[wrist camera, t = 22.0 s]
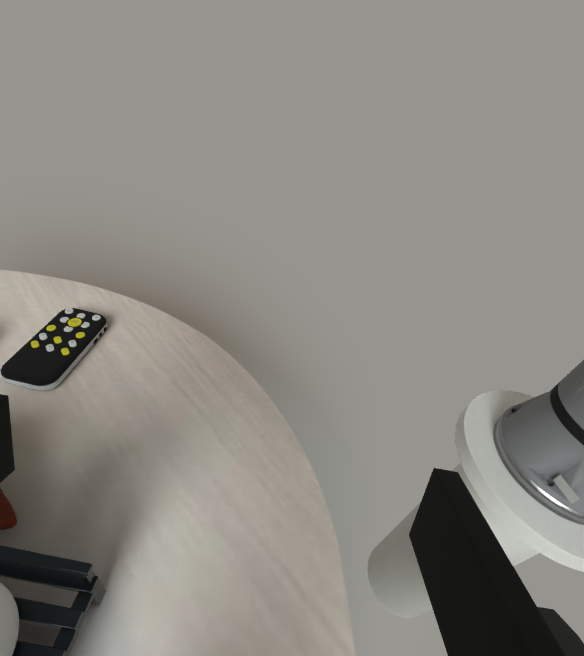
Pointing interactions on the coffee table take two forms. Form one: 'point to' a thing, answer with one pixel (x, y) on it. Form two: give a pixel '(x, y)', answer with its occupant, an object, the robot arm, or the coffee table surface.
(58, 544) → the coffee table surface
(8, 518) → the ocarina
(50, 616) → the rack
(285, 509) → the coffee table surface
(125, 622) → the coffee table surface
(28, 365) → the remote control
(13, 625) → the pill bottle
